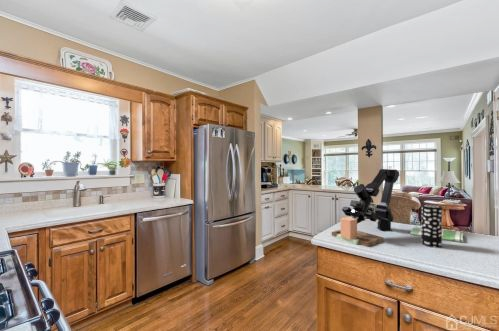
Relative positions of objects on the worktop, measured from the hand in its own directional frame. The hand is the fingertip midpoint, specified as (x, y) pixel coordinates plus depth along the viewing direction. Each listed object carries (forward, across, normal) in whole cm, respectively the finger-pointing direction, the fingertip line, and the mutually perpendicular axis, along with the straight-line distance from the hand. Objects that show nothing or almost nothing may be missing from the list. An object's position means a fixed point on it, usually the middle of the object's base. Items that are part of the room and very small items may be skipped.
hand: (352, 225), depth 131 cm
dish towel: (-28, +22, +39) cm, 53 cm away
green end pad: (+8, 0, +2) cm, 9 cm away
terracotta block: (+6, 0, +2) cm, 7 cm away
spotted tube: (-13, +28, +24) cm, 39 cm away
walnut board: (+3, 0, +8) cm, 9 cm away
